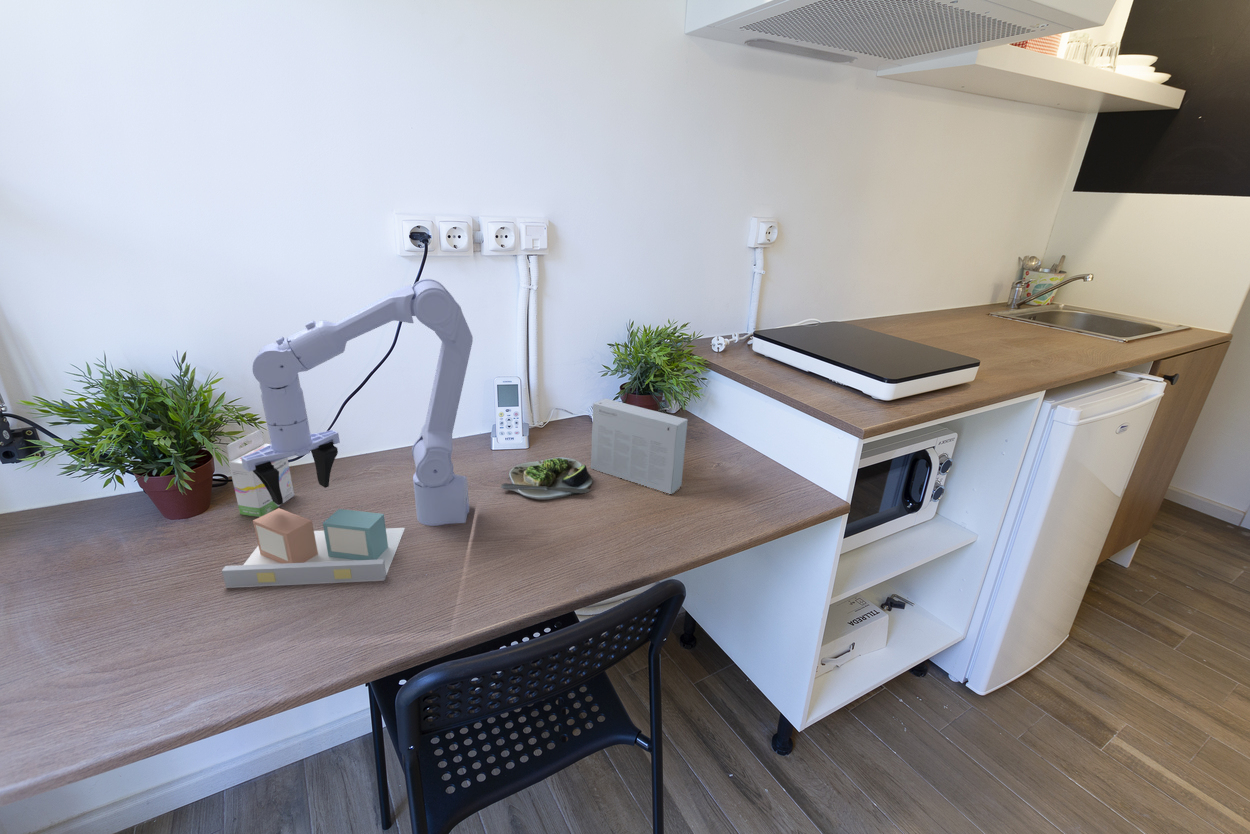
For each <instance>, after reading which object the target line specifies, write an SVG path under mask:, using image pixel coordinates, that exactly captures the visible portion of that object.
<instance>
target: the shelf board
mask: <svg viewBox="0 0 1250 834" xmlns="http://www.w3.org/2000/svg"><path fill="white" fill-rule="evenodd" d="M405 529H406V528H405V527H390V528H388V527H386V534H387V542H388V547H387V549H386V550H385V551H384V552H383V553H382V554H381V555H380V556H379V557H378V559H377V560H351V559H343V558H335V557H329V556H328V551H327V545H326V539H325V534H324V530H314V535H315V540H316V545H317V551H318V555H316V556H314V557H313V558H311V559H309V560H308V561H306V562H304V563H283V564H281V563H279V562H277V561H274V560H272V559H270V558H267V557H265V556H263V555H260V550H259V546H258V545H257V546H256V548H255V549H254V550H253V552H252V553H251V554H250V556H248V558H247V559H246V560H245V562H244V563H243V564H242V565H240V564H239V565H238V564H237V565H225V566H224V567H223V568H222V570H221V573H222V577H223V581H224V585H225V589H228V588H231V589H232V588H248V587H249V588H250V587H251V588H252V587H271V586H272V587H273V586H274V587H275V586H292V585H293V586H296V585H314V584H315V585H316V584H317V585H318V584H319V585H320V584H337V583H359V582H360V583H361V582H377V581H378V582H379V581H380V582H381V581H383V582H384V581H385V580H386V578H387V575H388V573H389V570H390V567H391V564H392V562H393V559H394V558H395V554H396V552H397V549H398V548H399V547H398V546H399V545H400V541H401V540H402V539H401V538H402V537H403V534H404V531H405Z"/></svg>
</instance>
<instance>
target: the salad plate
mask: <svg viewBox="0 0 1250 834" xmlns="http://www.w3.org/2000/svg"><path fill="white" fill-rule="evenodd" d="M508 476H509V479H510V481H511V483H502V484H501V485H500V488H501V490H507V491H512V492H515V493H518V494H520V495H521V496H523V497H526V498H531V499H535V500H541V501H542V500H545V501H547V500H553V499H558V498H559V499H560V498H567V497H574V496H579V495H582V494H586V493H590V492H591V491H592V490H591V489H590V488H591V487H592V485H593V483H594V480H593V477H592V475H591V474H590V473H589V472H588V468H587V465H586V464H582V463H581V462H580V461H578V460H577V459H574V458H569V457H559V456H558V457H552V458H548V459H542V460H538V461H537V460H536V461H530V462H529V461H528V462H523V463H518V464H517V465H514V467H513V468H512V469H511V470H510V471H509V472H508Z"/></svg>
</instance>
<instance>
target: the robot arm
mask: <svg viewBox="0 0 1250 834" xmlns="http://www.w3.org/2000/svg"><path fill="white" fill-rule="evenodd" d="M413 317H415V318H416V319H417V320H418V322H420V323H421V324H422V325H424V326H425V327H427V328H428V329H430V330H432V331H433V332H434V333H435V334H436V336H437V337H438V338H439V339H440V341H441V344H440V349H439V353H438V354H439V355H438V360H437V364H436V369H435V374H434V377H433V378H434V379H433V384H432V389H431V392H430V393H431V394H430V398H429V399H430V400H429V403H428V408H427V414H426V419H425V422H424V425H423V427H422V428H421V431H420V434H419V437H418V438H417V440H416V441H415V442H414V443H413V445H412V448H411V453H412V454H411V455H412V458H413V461H414V466H415V472H414V474H413V475H412V480H413V481H412V482H413V493H414V501H415V502H414V503H415V511H416V519H417V521H418V522H419V523H420V524H422V525H424V526H429V527H430V526H432V527H435V526H442V525H448V524H450V525H451V524H465V523H466V522H467V517H468V514H469V513H470V502H469V501H470V500H469V486H468V478H467V475H460V474H456V473H455V472H454V464H453V461H452V453H453V431H454V428H455V423H456V418H457V415H458V409H459V404H460V400H461V396H462V391H463V388H464V387H463V386H464V381H465V378H466V373H467V368H468V365H469V364H468V363H469V360H470V355H471V350H472V345H473V342H474V341H473V339H474V338H473V334H472V332H471V330H470V327H469V325H468V322H467V320H466V317H465V315H464V313H463V311H462V308H461V305H459V303H458V302H457V301H456V299H455V298H454V296H453V295H452V294H451V293H450V292H449V291H448V290H447V288H446V287H445V286H444V285H443V284H442V283H440V282H439V281H437V280H435V279H431V278H423V279H420V280H418V281H416V282H415V283H413V285H411V284H409V285H405V286H402V287H400V288H399V289H396V290H394V291H392V292H391V293H388V294H386V295H384V296H382V297H381V298H379V299H378V300H375V301H374V302H372V303H370V304H368V305H366V306H364V307H363V308H360V309H359V310H357V311H355V312H354V313H351V314H349V315H348V316H346V317H344V318H343V319H340V320H339V321H337V322H334V321H333V322H332V321H329V320H328V321H327V320H323V319H322V320H320V321H318V322H316V321H315V320H314V319H312V320H310V321H308V322H306V323H305V328H303V329H302V330H300V331H297V332H295V333H294V334H291V335H289V336H287V337H283V336H280V337H278V338H276V340H275V342H273V343H268V344H266V345H264V346H262V348H261V349H260V350H259V351H258V353H257V355H256V357H255V358H254V361H253V363H252V374H253V376H254V378H255V379H256V381H257V382H259V388H260V391H261V394H260V395H261V396H260V397H261V401H262V408H263V411H264V416H265V421H266V425H267V430H268V435H269V440H270V444H271V445H269V446H266V447H264V448H262V449H260V450H258V451H256V452H254V453H251V454H249V455H246V456H243V457H241V460H242V464H243V468H244V469H245V470H247V471H249V472H250V471H253V472H254V473H255V474H256V475H257V477H258V478H259V479H260V480H261V481H262V483H263V484H264V485H265V487H266V488H267V490H268V492H269V494H270V496H271V498H272V500H273V502H274V503H276V504H277V505H280V506H281V505H283V504H284V503H283V499H282V495H281V491H280V486H279V471H278V470H276V469H275V468H274V465H272V464H271V463H272V462H275V461H278V460H282V459H285V458H290V457H294V456H296V457H301V456H302V457H303V456H305V455H308V454H311V455H312V457H313V461H314V465H315V466H314V467H315V471H316V478H317V481H318V485H320V486H322V487H323V488H325V489H326V488H329V486H330V478H331V472H332V467H333V465H334V461H335V459H336V458H337V456H338V454H339V450H338V447H337V446H335V445H338V444H340V436H339V432H338V431H336V430H334V429H329V430H326V431H321V432H316V433H315V432H314V433H311V429H310V424H309V420H308V419H309V418H308V412H307V408H306V403H305V398H304V391H303V389H302V387H301V383H300V377H299V373H302V372H307V371H310V370H312V369H314V368H316V367H318V366H320V365H321V364H323V363H326V362H327V361H330V360H332V359H334V358H335V357H337V356H340V355H341V354H343V353H344V352H345V350H346V346H347V342H349V341H351V340H354V339H355V338H358V337H359V336H361V335H364V334H366V333H369V332H371V331H373V330H375V329H378V328H380V327H382V326H384V325H386V324H388V323H390V322H393V321H396V322H402V323H406V324H414V319H413Z"/></svg>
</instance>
